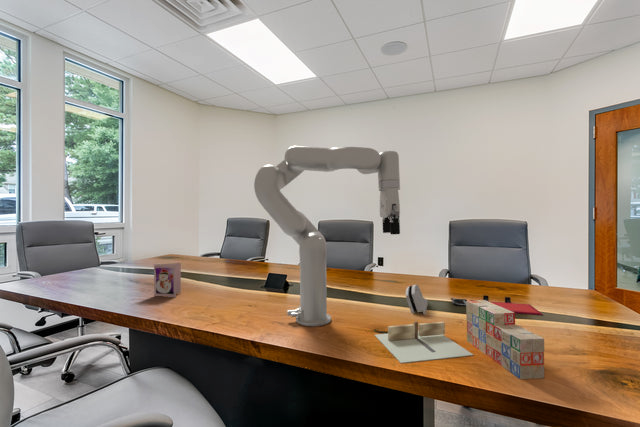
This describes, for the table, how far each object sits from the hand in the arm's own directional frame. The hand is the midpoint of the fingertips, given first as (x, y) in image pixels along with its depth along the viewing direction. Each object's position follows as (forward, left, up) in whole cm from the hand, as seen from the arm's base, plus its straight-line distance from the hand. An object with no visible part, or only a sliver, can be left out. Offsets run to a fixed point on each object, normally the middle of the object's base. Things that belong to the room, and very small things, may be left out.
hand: (391, 233), depth 106 cm
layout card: (-1, -20, -31) cm, 37 cm away
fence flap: (+6, -16, -31) cm, 35 cm away
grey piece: (+16, +12, -32) cm, 37 cm away
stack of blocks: (+16, -32, -32) cm, 48 cm away
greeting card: (-90, +54, -32) cm, 109 cm away
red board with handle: (+47, +6, -32) cm, 57 cm away
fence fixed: (-4, -16, -31) cm, 36 cm away
